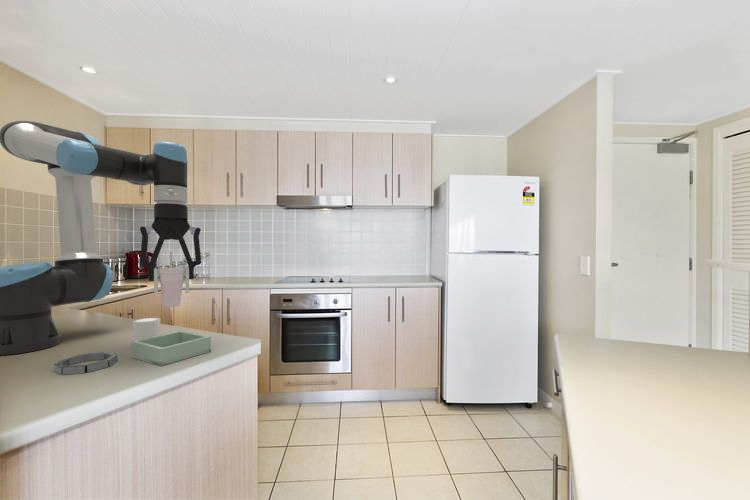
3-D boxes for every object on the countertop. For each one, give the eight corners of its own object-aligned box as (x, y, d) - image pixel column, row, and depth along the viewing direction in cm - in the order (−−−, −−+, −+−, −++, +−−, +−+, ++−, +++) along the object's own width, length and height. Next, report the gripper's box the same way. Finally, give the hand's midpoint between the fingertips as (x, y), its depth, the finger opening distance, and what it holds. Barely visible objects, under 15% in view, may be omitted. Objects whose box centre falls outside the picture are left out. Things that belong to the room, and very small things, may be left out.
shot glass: (150, 347, 97) (150, 322, 97) (126, 347, 98) (126, 322, 97) (166, 340, 104) (165, 317, 104) (143, 340, 104) (143, 317, 104)
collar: (47, 368, 81) (47, 362, 81) (102, 355, 90) (102, 349, 90) (67, 377, 75) (67, 370, 75) (124, 362, 85) (124, 356, 85)
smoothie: (178, 303, 95) (178, 251, 95) (190, 305, 92) (190, 252, 91) (153, 306, 90) (152, 252, 90) (164, 308, 86) (164, 252, 86)
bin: (131, 357, 89) (131, 341, 89) (181, 344, 100) (181, 330, 100) (160, 366, 82) (160, 349, 82) (210, 351, 94) (210, 336, 94)
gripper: (123, 200, 83) (125, 297, 83) (213, 204, 92) (214, 291, 93) (127, 203, 89) (128, 293, 89) (210, 207, 99) (211, 288, 99)
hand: (172, 292), depth 91 cm, fingers closed on smoothie, 6 cm apart
